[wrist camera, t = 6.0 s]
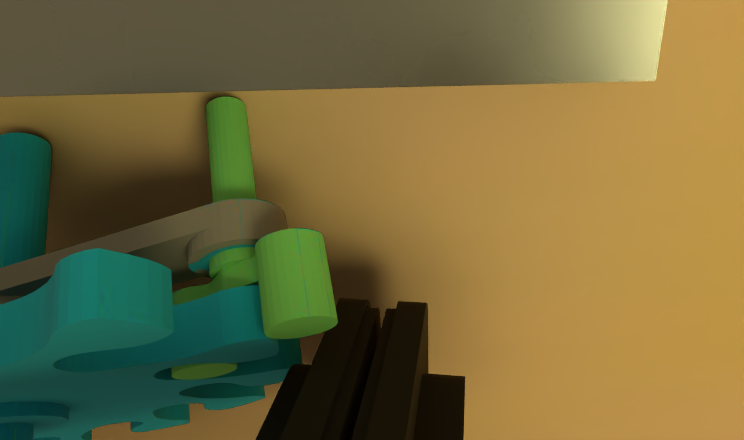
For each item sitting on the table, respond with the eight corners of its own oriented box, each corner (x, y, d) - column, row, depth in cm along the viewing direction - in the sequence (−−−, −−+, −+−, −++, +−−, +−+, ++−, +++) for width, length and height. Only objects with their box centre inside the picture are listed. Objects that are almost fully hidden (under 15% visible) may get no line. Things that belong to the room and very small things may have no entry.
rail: (544, 634, 15) (559, 777, 13) (-161, 530, 19) (-263, 621, 17) (654, -306, 7) (761, -472, 4) (-591, -131, 11) (-921, -162, 9)
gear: (-2, 493, 14) (-941, 582, 5) (15, 276, 16) (-593, 75, 7) (416, 395, 12) (129, 267, 3) (366, 170, 15) (124, -252, 6)
